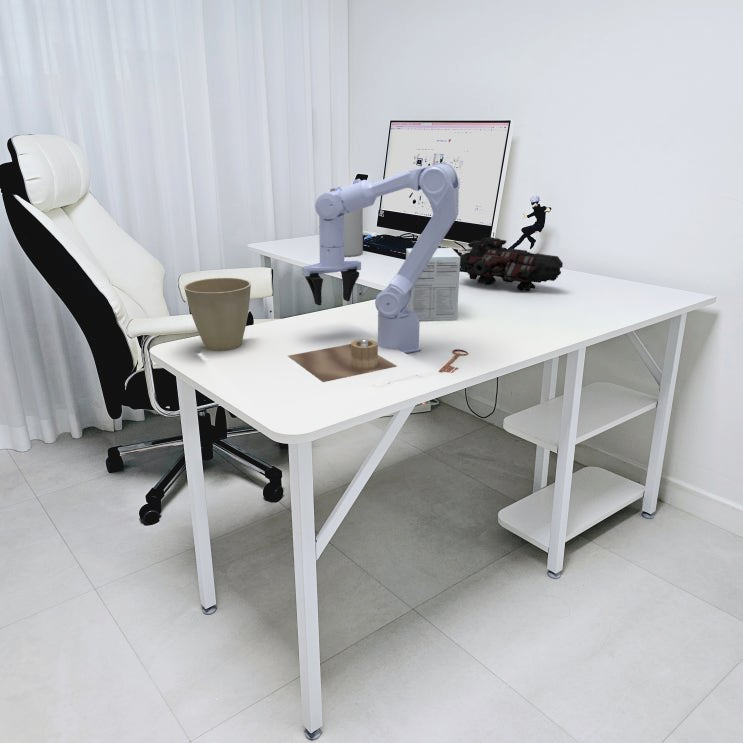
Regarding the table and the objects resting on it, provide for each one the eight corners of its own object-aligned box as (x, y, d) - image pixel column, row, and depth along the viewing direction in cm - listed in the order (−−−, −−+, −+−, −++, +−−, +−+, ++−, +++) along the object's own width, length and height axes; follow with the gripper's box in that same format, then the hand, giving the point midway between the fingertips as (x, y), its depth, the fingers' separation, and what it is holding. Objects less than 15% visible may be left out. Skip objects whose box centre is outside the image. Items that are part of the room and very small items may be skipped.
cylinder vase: (350, 258, 255) (350, 191, 246) (325, 254, 261) (323, 189, 252) (368, 253, 265) (368, 188, 256) (343, 249, 271) (342, 187, 262)
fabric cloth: (357, 348, 158) (356, 342, 157) (397, 372, 143) (397, 366, 143) (287, 362, 149) (287, 355, 148) (323, 388, 135) (323, 382, 134)
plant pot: (264, 342, 162) (260, 278, 156) (239, 363, 148) (234, 294, 142) (208, 338, 165) (202, 275, 159) (179, 358, 151) (171, 290, 145)
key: (456, 378, 142) (477, 356, 155) (457, 374, 142) (478, 352, 154) (431, 371, 144) (454, 350, 157) (432, 368, 144) (454, 346, 157)
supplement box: (458, 320, 179) (461, 256, 173) (409, 321, 178) (411, 257, 172) (449, 307, 191) (452, 247, 185) (404, 308, 190) (405, 247, 184)
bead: (367, 359, 147) (367, 337, 145) (382, 366, 142) (382, 344, 140) (346, 364, 144) (346, 342, 142) (360, 372, 139) (360, 349, 137)
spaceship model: (545, 302, 197) (550, 252, 191) (451, 285, 215) (453, 239, 210) (570, 289, 211) (575, 242, 206) (480, 275, 229) (482, 231, 224)
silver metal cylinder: (365, 363, 144) (365, 337, 142) (369, 365, 143) (369, 339, 140) (359, 364, 143) (359, 338, 141) (363, 367, 142) (362, 340, 140)
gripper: (351, 240, 159) (351, 294, 164) (296, 245, 152) (297, 302, 157) (365, 245, 153) (365, 301, 158) (309, 250, 146) (310, 309, 151)
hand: (332, 302), depth 157 cm, fingers open, 7 cm apart
